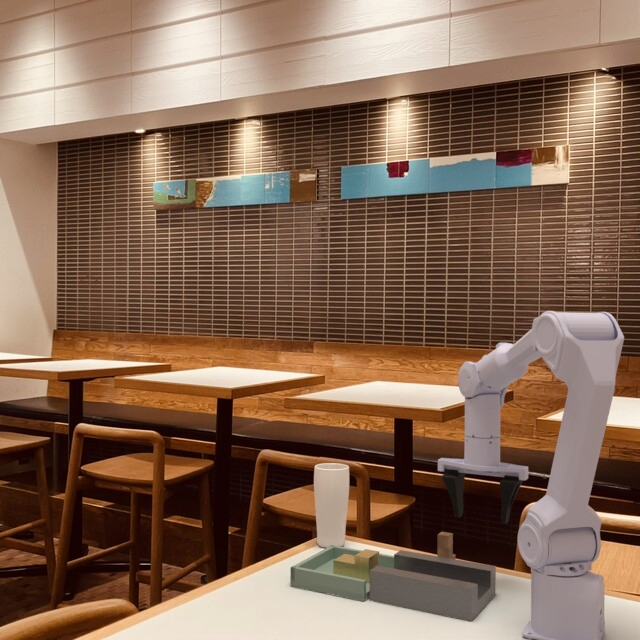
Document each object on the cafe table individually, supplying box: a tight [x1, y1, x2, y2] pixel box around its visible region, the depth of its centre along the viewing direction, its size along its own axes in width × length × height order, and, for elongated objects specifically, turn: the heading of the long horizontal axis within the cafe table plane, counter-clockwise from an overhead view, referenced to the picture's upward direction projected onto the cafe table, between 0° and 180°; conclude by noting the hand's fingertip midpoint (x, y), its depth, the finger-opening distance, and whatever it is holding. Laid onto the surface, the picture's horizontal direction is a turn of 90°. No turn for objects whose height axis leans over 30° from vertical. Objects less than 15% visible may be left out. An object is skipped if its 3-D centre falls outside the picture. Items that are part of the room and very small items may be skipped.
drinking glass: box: [313, 462, 350, 549], centre depth 141 cm, size 7×7×15 cm
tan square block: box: [354, 548, 380, 583], centre depth 120 cm, size 4×4×2 cm
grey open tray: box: [369, 549, 497, 622], centre depth 114 cm, size 16×12×4 cm
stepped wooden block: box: [436, 531, 457, 559], centre depth 126 cm, size 2×5×6 cm, turn 151°
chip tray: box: [289, 545, 394, 602], centre depth 121 cm, size 13×14×3 cm
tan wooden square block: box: [333, 554, 355, 578], centre depth 122 cm, size 4×4×2 cm
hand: (481, 519), depth 121 cm, fingers open, 7 cm apart
